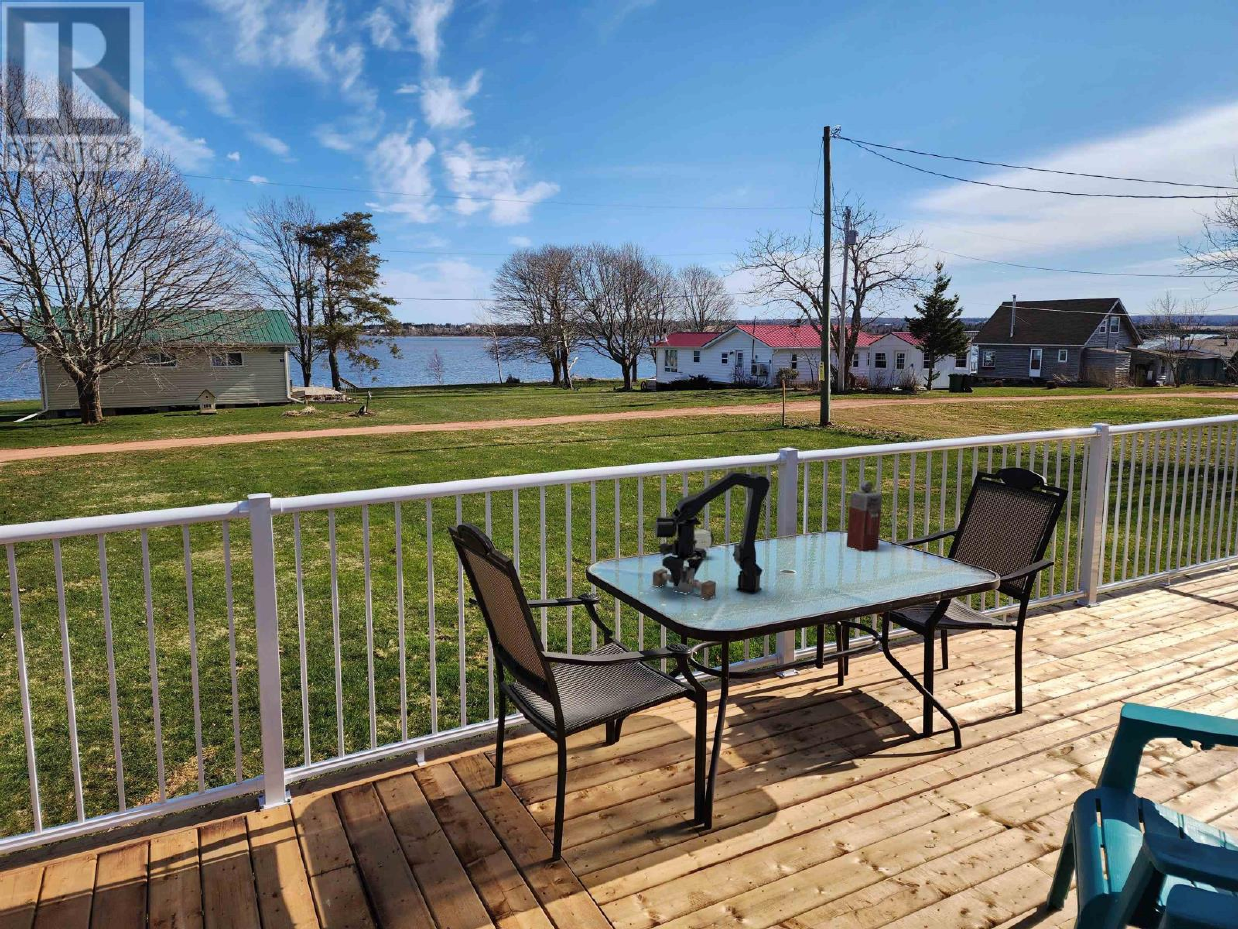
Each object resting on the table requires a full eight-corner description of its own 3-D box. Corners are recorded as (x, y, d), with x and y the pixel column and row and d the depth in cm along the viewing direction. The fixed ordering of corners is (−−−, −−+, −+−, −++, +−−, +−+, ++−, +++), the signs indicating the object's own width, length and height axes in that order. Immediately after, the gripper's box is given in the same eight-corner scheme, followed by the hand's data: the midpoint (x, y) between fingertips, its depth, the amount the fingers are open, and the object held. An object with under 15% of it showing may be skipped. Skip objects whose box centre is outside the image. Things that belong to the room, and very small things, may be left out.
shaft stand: (715, 596, 252) (716, 581, 251) (707, 600, 248) (708, 585, 247) (660, 582, 265) (661, 568, 264) (652, 586, 261) (653, 572, 260)
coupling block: (695, 591, 257) (696, 568, 256) (687, 595, 253) (688, 571, 252) (679, 587, 260) (680, 564, 259) (671, 591, 256) (672, 568, 255)
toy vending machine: (866, 553, 310) (871, 484, 305) (846, 546, 319) (851, 480, 315) (882, 551, 314) (888, 483, 309) (862, 544, 323) (867, 478, 319)
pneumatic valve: (681, 559, 294) (683, 529, 292) (705, 555, 300) (707, 525, 298) (690, 563, 289) (692, 532, 287) (714, 559, 295) (716, 528, 293)
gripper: (680, 528, 266) (678, 571, 268) (649, 538, 251) (647, 584, 253) (708, 533, 259) (706, 578, 262) (678, 544, 244) (676, 591, 247)
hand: (683, 582), depth 256 cm, fingers open, 9 cm apart
